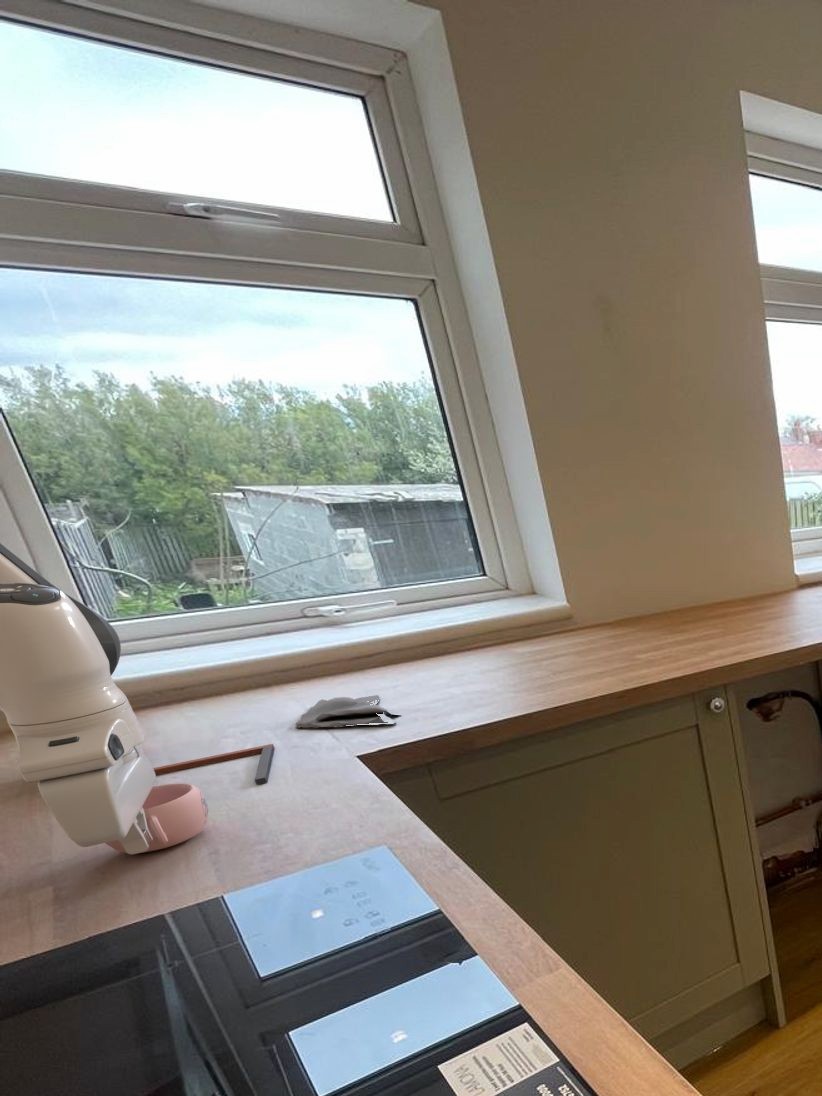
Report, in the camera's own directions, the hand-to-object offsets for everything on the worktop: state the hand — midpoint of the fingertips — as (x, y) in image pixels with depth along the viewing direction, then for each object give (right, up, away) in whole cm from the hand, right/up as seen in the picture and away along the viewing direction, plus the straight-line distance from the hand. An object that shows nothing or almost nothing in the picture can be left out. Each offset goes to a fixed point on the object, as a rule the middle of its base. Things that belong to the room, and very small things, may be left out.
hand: (141, 848), depth 92 cm
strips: (-19, +7, +25) cm, 32 cm away
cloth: (-17, +17, +50) cm, 55 cm away
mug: (-5, -1, +7) cm, 9 cm away
